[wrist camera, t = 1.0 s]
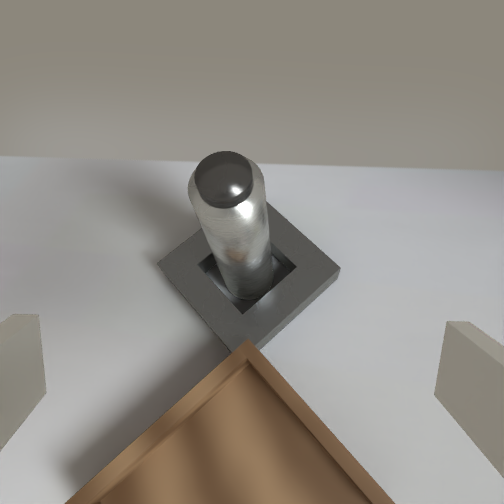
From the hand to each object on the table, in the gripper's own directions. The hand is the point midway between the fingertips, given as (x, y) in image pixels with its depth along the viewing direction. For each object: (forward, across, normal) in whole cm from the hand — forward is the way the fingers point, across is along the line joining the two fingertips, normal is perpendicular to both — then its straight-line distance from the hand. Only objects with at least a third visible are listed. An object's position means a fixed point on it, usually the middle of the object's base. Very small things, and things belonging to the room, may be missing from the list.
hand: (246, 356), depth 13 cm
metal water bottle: (+22, +1, -4) cm, 22 cm away
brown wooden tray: (+11, 0, -17) cm, 21 cm away
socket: (+22, +1, -4) cm, 22 cm away
